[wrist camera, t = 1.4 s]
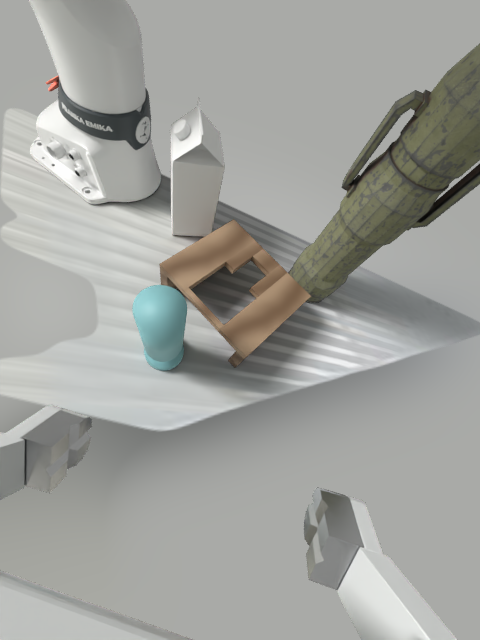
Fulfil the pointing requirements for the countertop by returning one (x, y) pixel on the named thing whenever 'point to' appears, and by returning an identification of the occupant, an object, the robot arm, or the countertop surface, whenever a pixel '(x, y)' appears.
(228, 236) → the keyhole bridge
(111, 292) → the countertop surface
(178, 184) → the milk carton
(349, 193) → the thermos
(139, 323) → the teal necked cylinder
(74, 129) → the robot arm
